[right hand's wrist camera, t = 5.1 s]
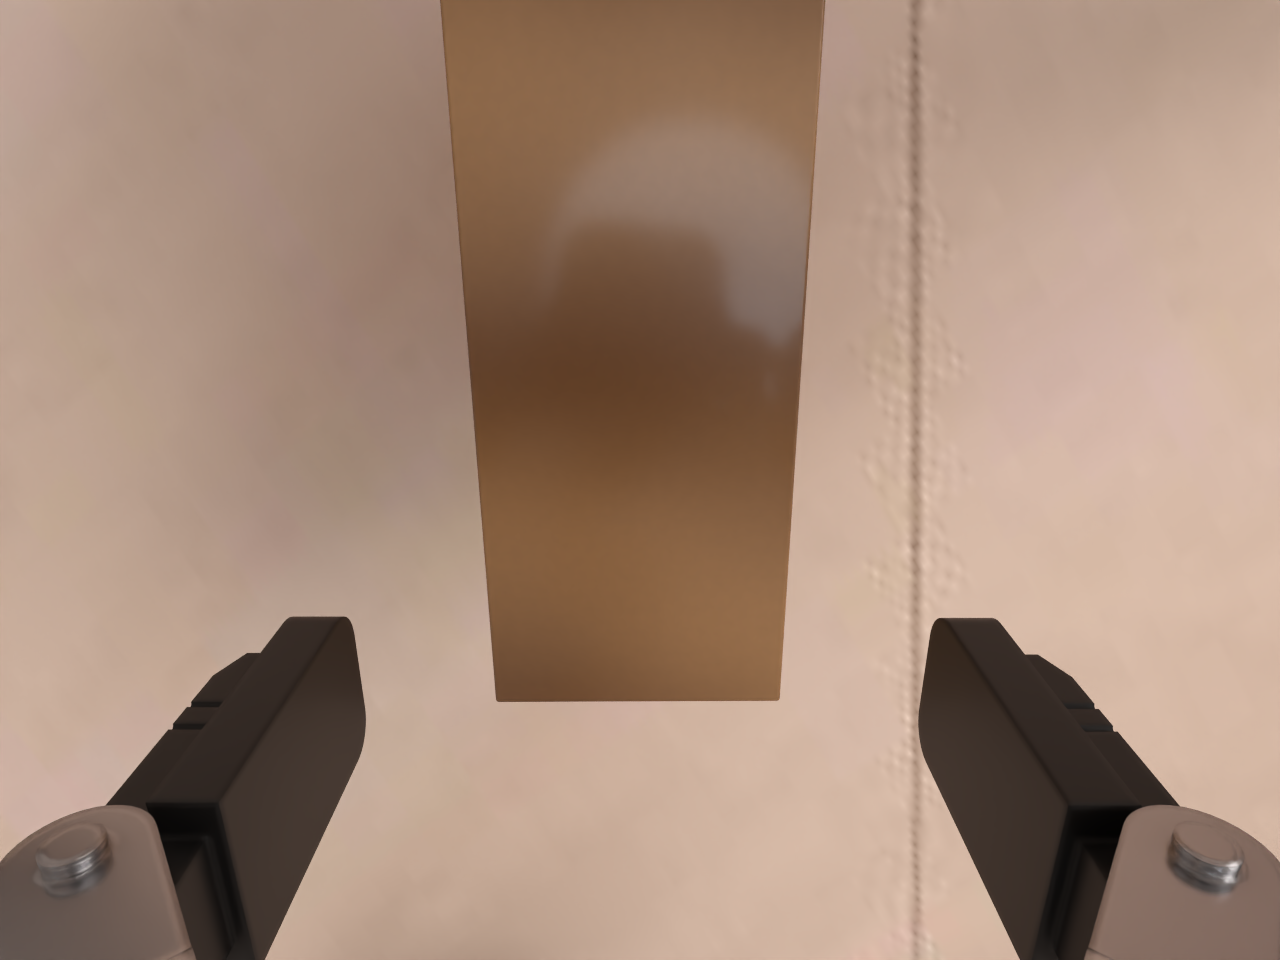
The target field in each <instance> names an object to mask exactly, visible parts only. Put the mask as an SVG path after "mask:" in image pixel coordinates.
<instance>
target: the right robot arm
mask: <svg viewBox="0 0 1280 960" xmlns="http://www.w3.org/2000/svg"><path fill="white" fill-rule="evenodd" d="M918 725H919V737H920V743H921V748H922V752H923V755H924V758H925V761H926V763H927V765H928V767H929V769H930V771H931V773H932V775H933V778H934V780H935V782H936V784H937V786H938V788H939V790H940V792H941V794H942V797H943V799H944V801H945V803H946V805H947V807H948V809H949V811H950V813H951V815H952V818H953V820H954V822H955V824H956V826H957V828H958V830H959V832H960V834H961V837H962V839H963V841H964V843H965V845H966V847H967V849H968V851H969V853H970V855H971V858H972V860H973V862H974V864H975V866H976V868H977V870H978V872H979V874H980V877H981V879H982V881H983V883H984V885H985V887H986V889H987V891H988V893H989V895H990V898H991V900H992V902H993V904H994V906H995V908H996V910H997V912H998V914H999V917H1000V919H1001V921H1002V923H1003V925H1004V927H1005V929H1006V931H1007V933H1008V935H1009V938H1010V940H1011V942H1012V944H1013V946H1014V948H1015V950H1016V952H1017V954H1018V957H1019V959H1020V960H1280V862H1279V861H1278V859H1277V858H1276V857H1275V856H1274V855H1273V854H1272V853H1271V852H1270V851H1269V850H1268V849H1267V848H1266V847H1265V846H1264V845H1262V844H1261V843H1260V842H1258V841H1257V840H1256V839H1254V838H1253V837H1252V836H1250V835H1249V834H1247V833H1246V832H1244V831H1242V830H1241V829H1239V828H1238V827H1236V826H1234V825H1232V824H1230V823H1228V822H1226V821H1224V820H1222V819H1219V818H1217V817H1215V816H1212V815H1210V814H1207V813H1204V812H1201V811H1198V810H1194V809H1190V808H1185V807H1180V806H1179V805H1178V803H1177V802H1176V801H1175V800H1174V799H1173V797H1172V796H1171V795H1170V794H1169V793H1168V791H1167V790H1166V789H1165V788H1164V787H1163V785H1162V784H1161V783H1160V782H1159V781H1158V779H1157V778H1156V777H1155V776H1154V775H1153V774H1152V772H1151V771H1150V770H1149V769H1148V768H1147V766H1146V765H1145V764H1144V763H1143V762H1142V760H1141V759H1140V758H1139V757H1138V756H1137V754H1136V753H1135V752H1134V751H1133V750H1132V748H1131V747H1130V746H1129V745H1128V744H1127V742H1126V741H1125V740H1124V739H1123V738H1122V736H1121V735H1120V734H1119V733H1118V732H1114V731H1113V726H1112V724H1111V723H1110V722H1109V721H1108V720H1107V718H1106V717H1105V716H1104V715H1103V714H1102V712H1101V711H1100V710H1099V709H1095V708H1094V703H1093V702H1092V700H1091V699H1090V698H1089V697H1088V696H1087V694H1086V693H1085V692H1084V691H1083V690H1082V688H1081V687H1080V686H1079V685H1078V684H1077V682H1076V681H1075V680H1074V679H1073V678H1072V677H1071V676H1069V675H1068V674H1066V673H1065V672H1063V671H1062V670H1060V669H1059V668H1057V667H1056V666H1054V665H1053V664H1051V663H1050V662H1048V661H1047V660H1045V659H1044V658H1042V657H1041V656H1039V655H1025V654H1024V653H1023V652H1022V650H1021V649H1020V648H1019V646H1018V645H1017V644H1016V643H1015V641H1014V640H1013V639H1012V637H1011V636H1010V635H1009V634H1008V632H1007V631H1006V630H1005V628H1004V627H1003V626H1002V625H1001V623H1000V622H999V621H998V620H996V619H994V618H938V619H937V620H936V621H935V622H934V624H933V626H932V629H931V634H930V640H929V647H928V653H927V660H926V667H925V674H924V681H923V687H922V694H921V701H920V708H919V719H918ZM365 727H366V713H365V705H364V698H363V691H362V684H361V677H360V670H359V663H358V657H357V650H356V643H355V636H354V630H353V627H352V624H351V622H350V620H349V619H348V618H347V617H289V618H288V619H287V620H286V621H285V622H284V623H283V624H282V626H281V627H280V628H279V629H278V631H277V632H276V633H275V635H274V636H273V637H272V639H271V640H270V641H269V642H268V644H267V645H266V646H265V648H264V649H263V650H262V652H261V653H247V654H245V655H244V656H242V657H241V658H239V659H237V660H236V661H234V662H233V663H231V664H230V665H228V666H227V667H225V668H224V669H222V670H221V671H219V672H218V673H216V674H215V675H213V676H212V678H211V679H210V680H209V681H208V682H207V684H206V685H205V686H204V687H203V688H202V690H201V691H200V692H199V693H198V694H197V696H196V697H195V698H194V699H193V701H192V702H191V707H187V708H186V709H185V710H184V711H183V713H182V714H181V715H180V716H179V717H178V719H177V720H176V721H175V722H174V723H173V729H172V730H168V731H167V732H166V733H165V734H164V736H163V737H162V738H161V739H160V740H159V742H158V743H157V744H156V745H155V746H154V748H153V749H152V750H151V751H150V752H149V754H148V755H147V756H146V757H145V759H144V760H143V761H142V762H141V763H140V765H139V766H138V767H137V768H136V769H135V771H134V772H133V773H132V774H131V775H130V777H129V778H128V779H127V780H126V781H125V783H124V784H123V785H122V786H121V788H120V789H119V790H118V791H117V792H116V794H115V795H114V796H113V797H112V798H111V800H110V801H109V802H108V803H107V804H106V806H100V807H95V808H90V809H86V810H82V811H79V812H76V813H73V814H70V815H68V816H65V817H63V818H61V819H58V820H56V821H54V822H52V823H50V824H48V825H46V826H44V827H42V828H41V829H39V830H38V831H36V832H34V833H33V834H31V835H30V836H28V837H27V838H26V839H24V840H23V841H22V842H20V843H19V844H18V845H16V846H15V847H14V848H13V849H12V850H11V851H10V852H9V853H8V854H7V855H6V856H5V857H4V858H3V859H2V861H1V862H0V960H265V958H266V956H267V954H268V951H269V949H270V947H271V945H272V943H273V941H274V939H275V936H276V934H277V932H278V930H279V928H280V926H281V924H282V922H283V919H284V917H285V915H286V913H287V911H288V909H289V907H290V905H291V902H292V900H293V898H294V896H295V894H296V892H297V890H298V887H299V885H300V883H301V881H302V879H303V877H304V875H305V873H306V870H307V868H308V866H309V864H310V862H311V860H312V858H313V856H314V853H315V851H316V849H317V847H318V845H319V843H320V841H321V838H322V836H323V834H324V832H325V830H326V828H327V826H328V824H329V821H330V819H331V817H332V815H333V813H334V811H335V809H336V806H337V804H338V802H339V800H340V798H341V796H342V794H343V792H344V789H345V787H346V785H347V783H348V781H349V779H350V777H351V775H352V772H353V770H354V768H355V766H356V764H357V762H358V759H359V757H360V754H361V751H362V747H363V743H364V737H365Z"/></svg>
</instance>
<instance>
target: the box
mask: <svg viewBox="0 0 1280 960" xmlns="http://www.w3.org/2000/svg"><path fill="white" fill-rule="evenodd" d="M440 4H441V16H442V29H443V41H444V54H445V66H446V79H447V91H448V104H449V116H450V129H451V141H452V154H453V166H454V179H455V191H456V204H457V216H458V229H459V241H460V254H461V266H462V279H463V292H464V304H465V317H466V329H467V342H468V354H469V367H470V379H471V392H472V404H473V417H474V429H475V442H476V454H477V467H478V479H479V492H480V504H481V517H482V529H483V542H484V554H485V567H486V579H487V592H488V604H489V617H490V629H491V642H492V654H493V667H494V679H495V692H496V700H497V701H498V702H555V701H777V700H779V698H780V683H781V668H782V653H783V638H784V622H785V607H786V592H787V576H788V561H789V546H790V531H791V515H792V500H793V485H794V469H795V454H796V439H797V423H798V408H799V393H800V378H801V362H802V347H803V332H804V316H805V301H806V286H807V271H808V255H809V240H810V225H811V209H812V194H813V179H814V164H815V148H816V133H817V118H818V102H819V87H820V72H821V57H822V41H823V26H824V11H825V0H440Z"/></svg>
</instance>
